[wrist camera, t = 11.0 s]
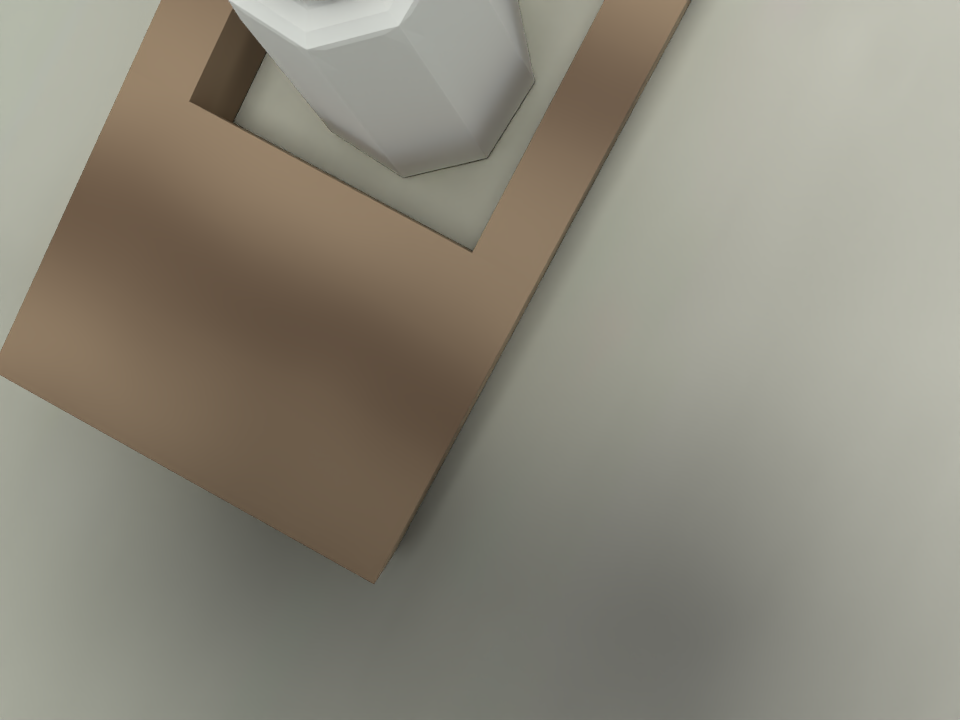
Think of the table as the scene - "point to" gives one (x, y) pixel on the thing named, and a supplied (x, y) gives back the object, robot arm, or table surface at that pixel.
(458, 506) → the table surface
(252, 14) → the pepper shaker
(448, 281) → the wooden tray
